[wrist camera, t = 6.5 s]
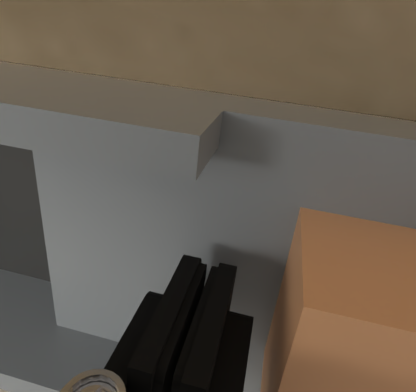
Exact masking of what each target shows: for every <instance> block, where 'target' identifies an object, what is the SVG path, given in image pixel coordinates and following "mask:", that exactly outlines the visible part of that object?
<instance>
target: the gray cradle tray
mask: <svg viewBox="0 0 416 392" xmlns="http://www.w3.org/2000/svg"><path fill="white" fill-rule="evenodd" d="M300 207H302V208H308V209H313V210H318V211H324V212H329V213H334V214H339V215H345V216H350V217H355V218H361V219H366V220H371V221H376V222H382V223H387V224H392V225H398V226H403V227H408V228H413V229H416V121H410V120H403V119H396V118H389V117H382V116H375V115H369V114H362V113H355V112H348V111H341V110H334V109H327V108H320V107H313V106H307V105H300V104H293V103H286V102H279V101H272V100H265V99H258V98H251V97H245V96H238V95H231V94H224V93H217V92H210V91H203V90H196V89H189V88H183V87H176V86H169V85H162V84H155V83H148V82H141V81H134V80H127V79H121V78H114V77H107V76H100V75H93V74H86V73H79V72H72V71H65V70H59V69H52V68H45V67H38V66H31V65H24V64H17V63H10V62H3V61H0V389H2V390H5V391H8V392H60V391H61V389H62V388H63V387H64V386H65V385H66V384H67V383H68V382H69V381H70V380H71V379H72V378H73V377H75V376H77V375H78V374H80V373H82V372H84V371H88V370H91V369H104V367H105V365H106V364H107V362H108V360H109V358H110V357H111V355H112V353H113V351H114V350H115V348H116V346H117V344H118V343H119V341H120V339H121V337H122V336H123V334H124V332H125V330H126V328H127V327H128V325H129V323H130V321H131V320H132V318H133V316H134V314H135V313H136V311H137V309H138V307H139V306H140V304H141V302H142V300H143V299H144V297H145V295H146V294H147V293H148V292H149V291H151V292H155V293H159V294H164V292H165V290H166V288H167V286H168V284H169V282H170V280H171V278H172V276H173V274H174V272H175V270H176V268H177V266H178V264H179V262H180V260H181V258H182V256H183V255H184V254H185V255H189V256H194V257H198V258H201V260H202V261H201V263H203V264H207V271H206V279H205V283H206V281H207V278H208V275H209V272H210V269H211V267H212V266H216V267H218V266H219V263H225V264H229V265H233V266H237V272H236V278H235V283H234V289H233V294H232V300H231V306H230V311H232V312H236V313H240V314H244V315H248V316H252V317H254V319H253V327H252V334H251V341H250V348H249V355H248V362H247V369H246V376H245V383H244V390H243V392H260V390H261V380H262V369H263V359H264V350H265V346H266V342H267V338H268V334H269V330H270V326H271V322H272V318H273V314H274V310H275V306H276V302H277V298H278V294H279V290H280V286H281V283H282V279H283V275H284V271H285V267H286V263H287V259H288V255H289V251H290V247H291V243H292V239H293V235H294V231H295V227H296V223H297V219H298V215H299V211H300Z"/></svg>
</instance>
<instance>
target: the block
mask: <svg viewBox="0 0 416 392" xmlns="http://www.w3.org/2000/svg"><path fill="white" fill-rule="evenodd" d="M260 392H416V229H413V228H408V227H403V226H398V225H392V224H387V223H382V222H376V221H371V220H366V219H361V218H355V217H350V216H345V215H339V214H334V213H329V212H324V211H318V210H313V209H308V208H302V207H300V211H299V215H298V219H297V223H296V227H295V231H294V235H293V239H292V243H291V247H290V251H289V255H288V259H287V263H286V267H285V271H284V275H283V279H282V283H281V286H280V290H279V294H278V298H277V302H276V306H275V310H274V314H273V318H272V322H271V326H270V330H269V334H268V338H267V342H266V346H265V350H264V359H263V369H262V380H261V390H260Z"/></svg>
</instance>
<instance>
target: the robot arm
mask: <svg viewBox="0 0 416 392" xmlns="http://www.w3.org/2000/svg"><path fill="white" fill-rule="evenodd" d="M201 261H202V260H201V258H198V257H194V256H189V255H185V254H184V255H183V256H182V258H181V260H180V262H179V264H178V266H177V268H176V270H175V272H174V274H173V276H172V278H171V280H170V282H169V284H168V286H167V288H166V290H165V292H164V294H159V293H155V292H151V291H149V292H148V293H147V294H146V295H145V297H144V299H143V300H142V302H141V304H140V306H139V307H138V309H137V311H136V313H135V314H134V316H133V318H132V320H131V321H130V323H129V325H128V327H127V328H126V330H125V332H124V334H123V336H122V337H121V339H120V341H119V343H118V344H117V346H116V348H115V350H114V351H113V353H112V355H111V357H110V358H109V360H108V362H107V364H106V365H105V367H104V369H91V370H88V371H84V372H82V373H80V374H78V375H77V376H75V377H73V378H72V379H71V380H70V381H69V382H68V383H67V384H66V385H65V386H64V387H63V388H62V389H61V391H60V392H243V390H244V383H245V376H246V369H247V362H248V355H249V348H250V341H251V334H252V327H253V319H254V317H252V316H248V315H244V314H240V313H236V312H232V311H230V306H231V300H232V294H233V289H234V283H235V278H236V272H237V266H233V265H229V264H225V263H219V266H218V267H216V266H212V267H211V269H210V272H209V275H208V278H207V281H206V283H205V279H206V271H207V264H203V263H201Z"/></svg>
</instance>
